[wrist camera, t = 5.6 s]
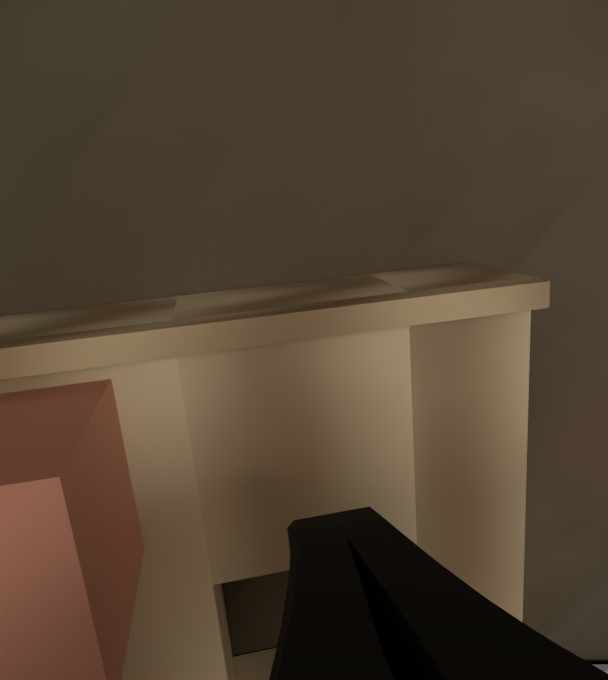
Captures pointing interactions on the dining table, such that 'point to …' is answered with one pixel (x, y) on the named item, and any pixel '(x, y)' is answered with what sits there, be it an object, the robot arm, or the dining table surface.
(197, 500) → the trap tray
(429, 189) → the dining table surface
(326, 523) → the robot arm
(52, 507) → the brick block
